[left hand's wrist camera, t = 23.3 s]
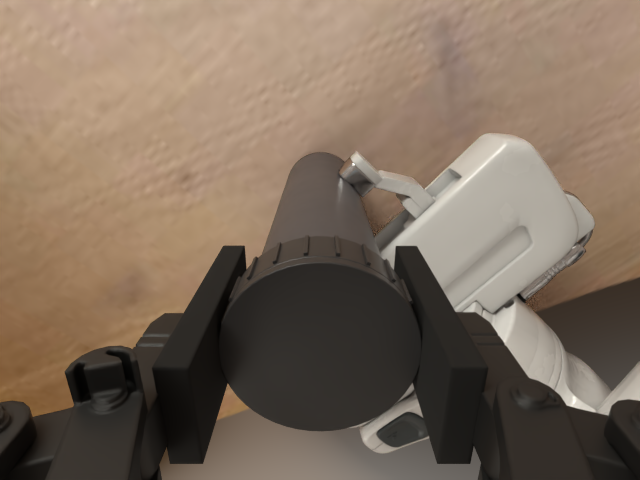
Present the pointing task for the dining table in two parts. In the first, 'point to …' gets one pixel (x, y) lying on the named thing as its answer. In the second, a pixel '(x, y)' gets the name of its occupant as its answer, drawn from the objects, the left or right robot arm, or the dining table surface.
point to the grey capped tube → (320, 205)
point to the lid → (320, 335)
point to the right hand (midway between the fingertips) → (308, 201)
